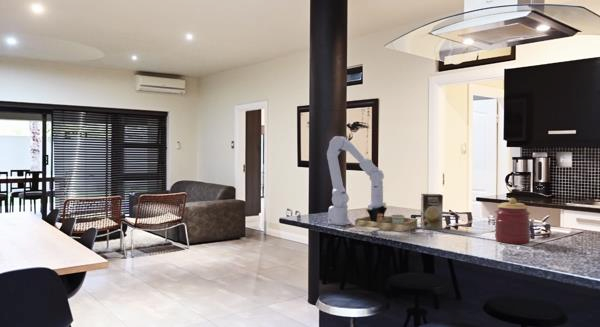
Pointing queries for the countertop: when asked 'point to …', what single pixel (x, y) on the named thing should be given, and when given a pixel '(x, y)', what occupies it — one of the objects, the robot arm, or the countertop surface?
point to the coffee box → (431, 211)
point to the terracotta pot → (379, 217)
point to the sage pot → (397, 219)
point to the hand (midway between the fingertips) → (377, 222)
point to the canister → (512, 223)
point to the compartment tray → (387, 223)
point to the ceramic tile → (363, 229)
